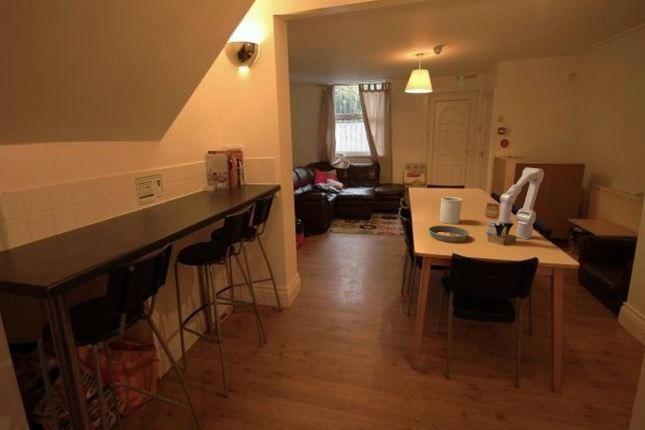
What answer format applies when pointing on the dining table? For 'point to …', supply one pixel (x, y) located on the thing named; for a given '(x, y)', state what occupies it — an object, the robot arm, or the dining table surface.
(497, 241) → the hole block
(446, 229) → the cake pan
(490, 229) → the medicine box
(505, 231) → the peg
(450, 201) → the utensil holder
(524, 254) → the dining table surface
